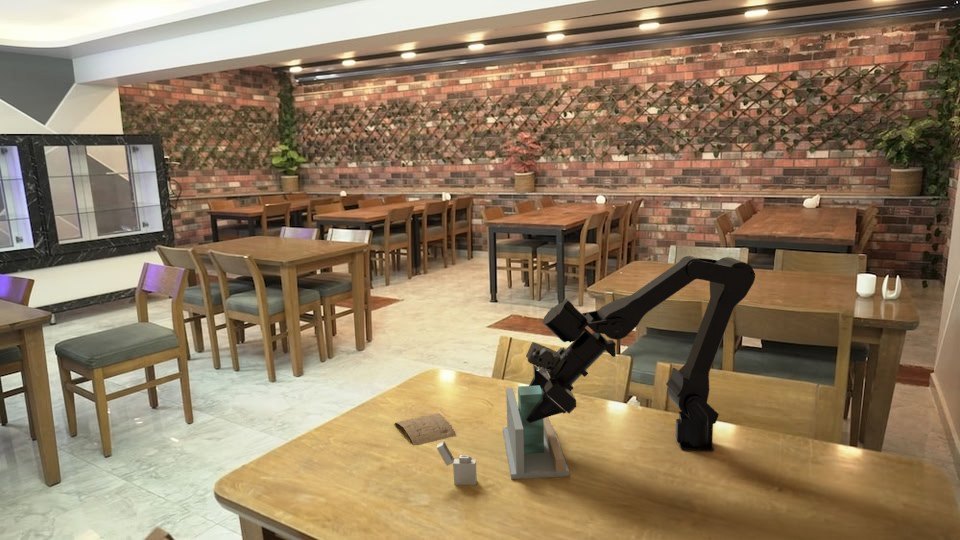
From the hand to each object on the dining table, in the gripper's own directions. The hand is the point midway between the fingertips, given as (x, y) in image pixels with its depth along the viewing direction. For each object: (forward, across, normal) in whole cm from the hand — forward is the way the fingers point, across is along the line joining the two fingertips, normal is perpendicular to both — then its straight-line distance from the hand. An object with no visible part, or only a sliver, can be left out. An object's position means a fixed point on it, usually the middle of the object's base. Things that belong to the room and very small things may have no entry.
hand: (525, 411), depth 123 cm
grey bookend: (+5, 0, +8) cm, 9 cm away
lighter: (+16, +10, -3) cm, 20 cm away
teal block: (+5, 0, +6) cm, 8 cm away
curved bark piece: (+22, -13, -8) cm, 27 cm away
